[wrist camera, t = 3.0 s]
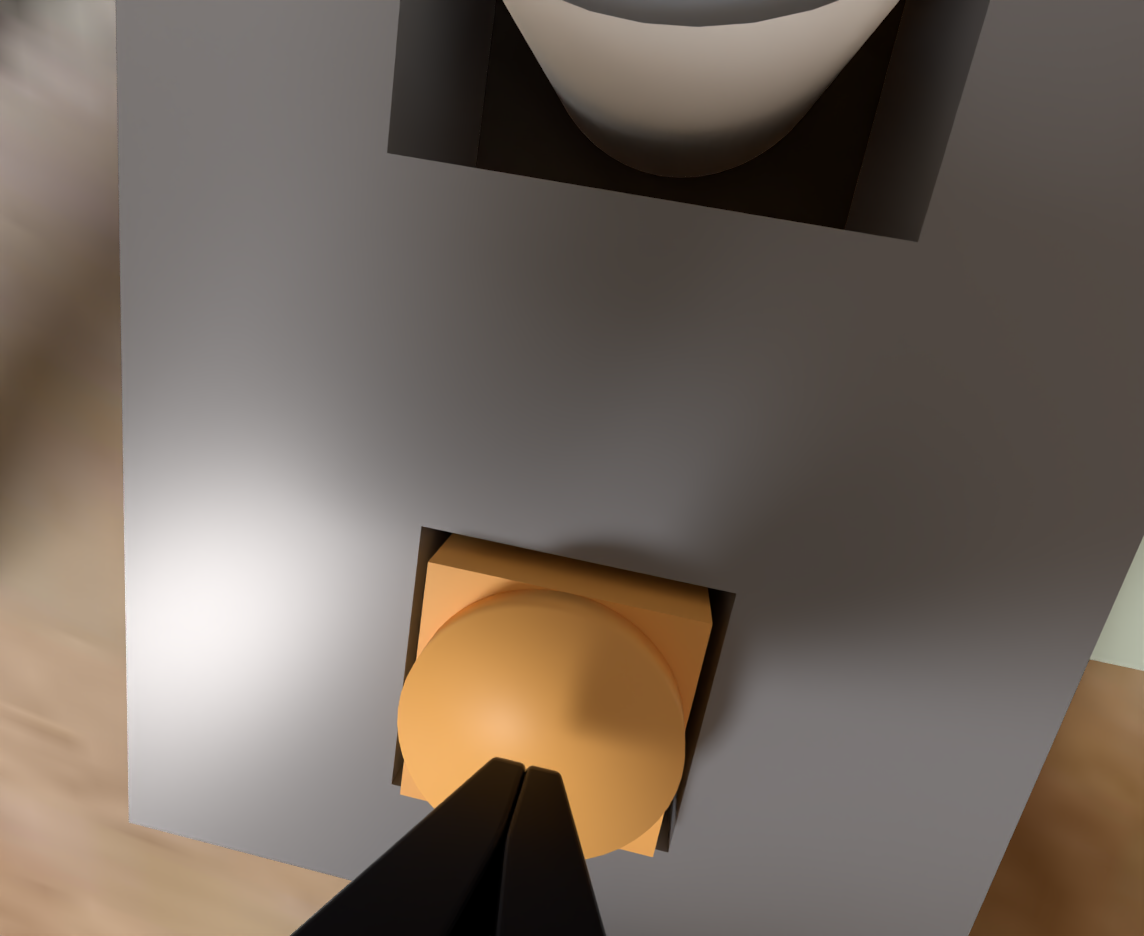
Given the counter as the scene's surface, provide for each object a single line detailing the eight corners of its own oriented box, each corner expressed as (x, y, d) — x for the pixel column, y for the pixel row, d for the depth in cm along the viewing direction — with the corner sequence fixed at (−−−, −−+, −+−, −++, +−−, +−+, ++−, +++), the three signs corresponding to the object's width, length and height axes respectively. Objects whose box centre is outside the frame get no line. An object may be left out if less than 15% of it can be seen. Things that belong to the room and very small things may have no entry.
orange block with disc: (656, 702, 14) (651, 891, 10) (470, 659, 14) (385, 823, 10) (699, 524, 13) (715, 646, 9) (496, 481, 13) (412, 579, 9)
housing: (860, 838, 15) (926, 1030, 11) (256, 694, 16) (128, 822, 12) (1279, -328, 9) (1709, -755, 5) (308, -421, 10) (101, -828, 7)
